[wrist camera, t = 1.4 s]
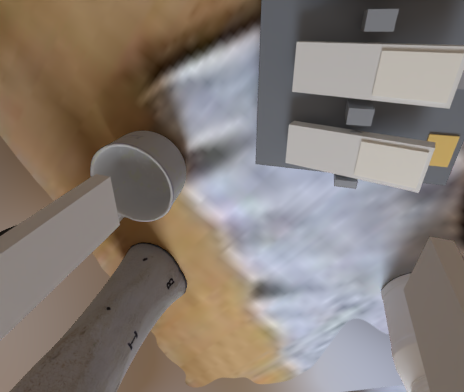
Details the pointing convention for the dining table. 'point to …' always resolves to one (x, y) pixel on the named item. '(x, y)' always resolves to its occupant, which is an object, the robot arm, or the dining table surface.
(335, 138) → the rocker
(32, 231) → the robot arm
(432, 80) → the rocker
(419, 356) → the jar
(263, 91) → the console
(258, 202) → the dining table surface
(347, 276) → the dining table surface
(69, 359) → the vase
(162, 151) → the teacup
